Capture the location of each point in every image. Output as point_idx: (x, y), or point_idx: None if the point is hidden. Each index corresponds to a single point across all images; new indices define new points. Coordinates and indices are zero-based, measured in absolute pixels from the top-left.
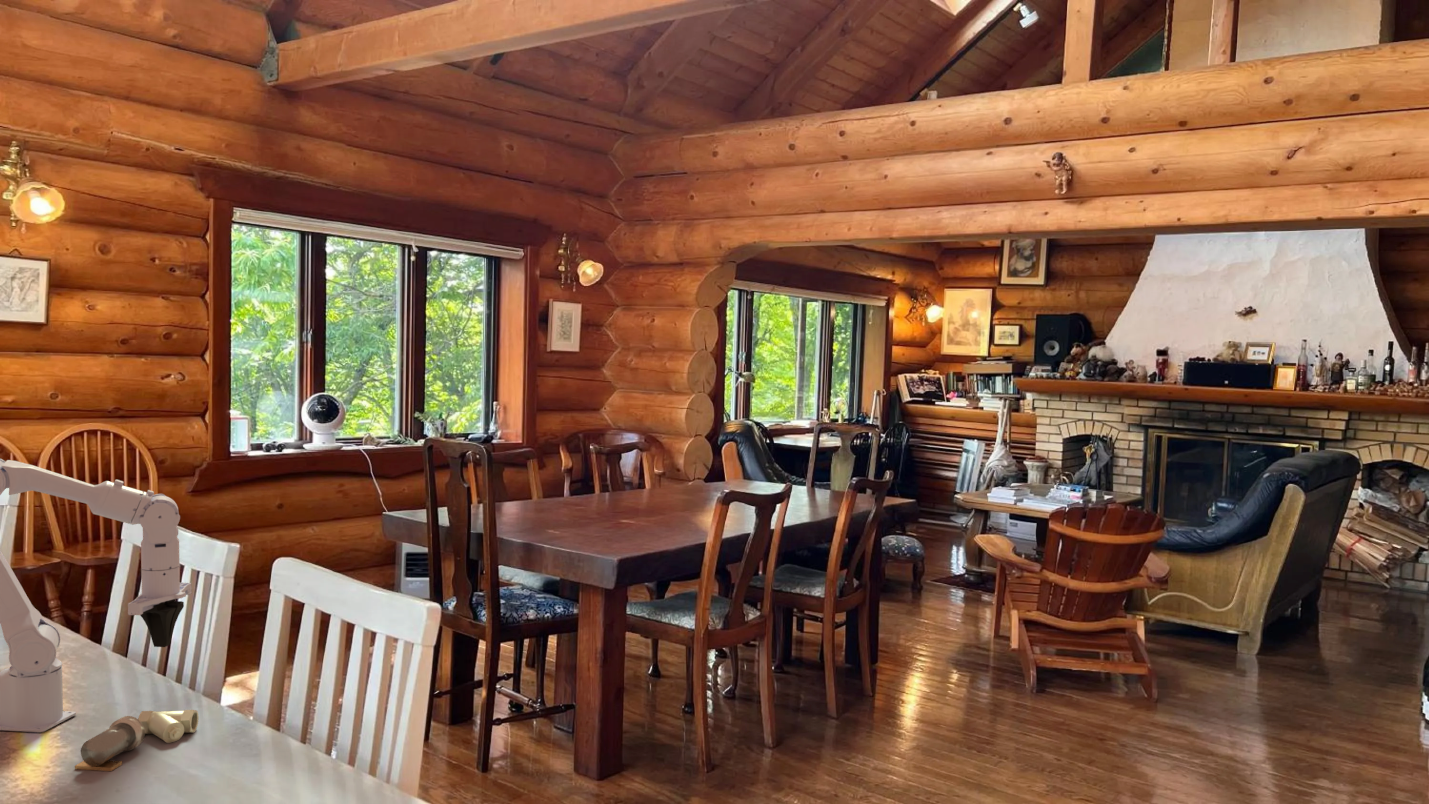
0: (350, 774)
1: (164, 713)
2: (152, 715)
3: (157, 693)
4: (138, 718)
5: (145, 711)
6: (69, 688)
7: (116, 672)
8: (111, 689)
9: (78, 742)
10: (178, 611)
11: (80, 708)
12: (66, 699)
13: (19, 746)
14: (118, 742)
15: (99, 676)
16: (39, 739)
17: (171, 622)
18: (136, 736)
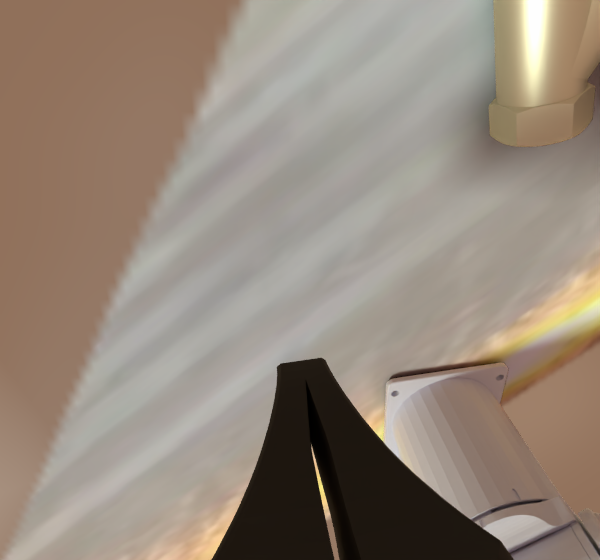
0: None
1: (580, 36)
2: (582, 82)
3: (182, 319)
4: (586, 126)
5: (573, 123)
6: (225, 499)
7: (88, 501)
8: (199, 433)
9: (572, 246)
10: (267, 553)
11: None
12: None
13: (578, 345)
14: None
15: (130, 508)
16: (539, 339)
17: (313, 475)
18: None
